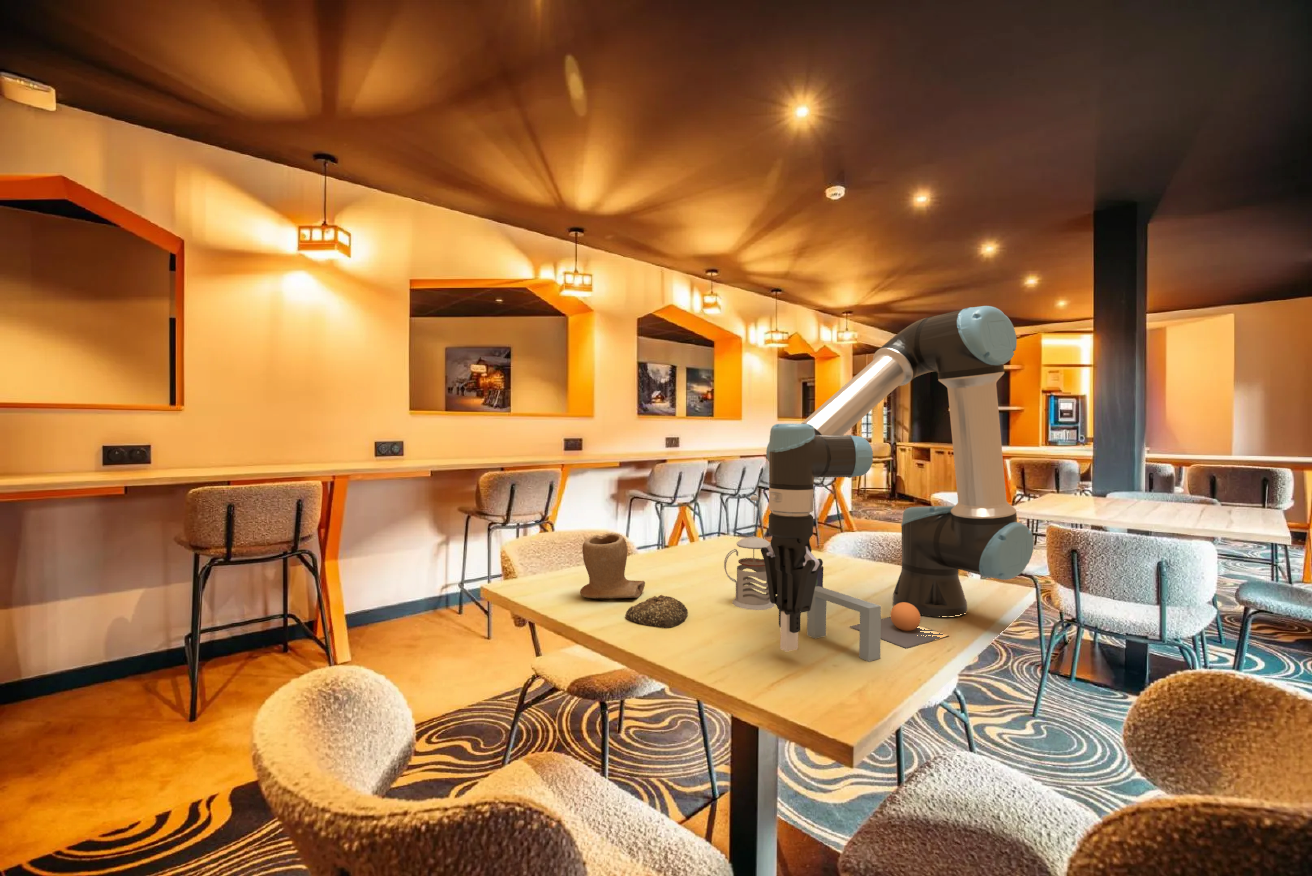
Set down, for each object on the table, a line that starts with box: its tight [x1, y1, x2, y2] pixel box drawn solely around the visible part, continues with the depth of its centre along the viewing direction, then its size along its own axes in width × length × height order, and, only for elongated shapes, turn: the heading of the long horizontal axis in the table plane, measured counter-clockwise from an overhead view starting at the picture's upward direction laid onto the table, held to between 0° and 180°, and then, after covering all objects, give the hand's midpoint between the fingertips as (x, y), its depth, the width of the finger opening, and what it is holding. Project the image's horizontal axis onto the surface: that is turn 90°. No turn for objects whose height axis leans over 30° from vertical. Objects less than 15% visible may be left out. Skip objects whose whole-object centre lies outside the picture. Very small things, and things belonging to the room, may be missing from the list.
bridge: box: [806, 586, 882, 662], centre depth 105 cm, size 3×14×9 cm, turn 30°
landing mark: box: [849, 616, 944, 649], centre depth 113 cm, size 13×13×1 cm
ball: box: [890, 602, 921, 631], centre depth 113 cm, size 6×6×6 cm
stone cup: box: [579, 532, 646, 599], centre depth 134 cm, size 15×12×15 cm
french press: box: [723, 494, 776, 611], centre depth 131 cm, size 10×12×25 cm
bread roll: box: [625, 594, 689, 629], centre depth 120 cm, size 13×12×5 cm
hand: (789, 648), depth 98 cm, fingers closed
